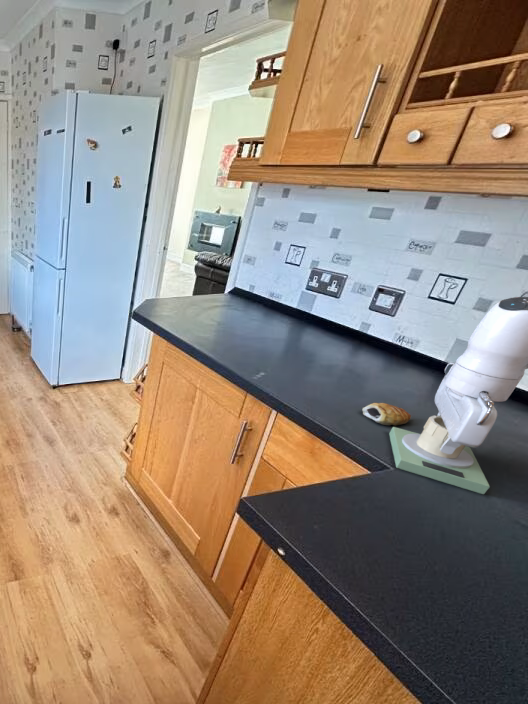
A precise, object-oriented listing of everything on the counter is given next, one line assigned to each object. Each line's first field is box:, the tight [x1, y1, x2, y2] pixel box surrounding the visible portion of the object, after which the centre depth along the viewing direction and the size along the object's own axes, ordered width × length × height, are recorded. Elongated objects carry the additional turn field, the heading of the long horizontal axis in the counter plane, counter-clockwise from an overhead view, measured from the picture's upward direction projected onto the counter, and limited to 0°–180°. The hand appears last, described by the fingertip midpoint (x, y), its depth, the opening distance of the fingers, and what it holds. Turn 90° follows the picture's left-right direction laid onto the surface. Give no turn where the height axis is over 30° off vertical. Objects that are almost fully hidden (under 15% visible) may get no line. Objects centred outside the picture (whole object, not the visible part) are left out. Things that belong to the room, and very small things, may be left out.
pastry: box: [361, 402, 412, 426], centre depth 100 cm, size 9×7×4 cm
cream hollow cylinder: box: [416, 415, 465, 459], centre depth 84 cm, size 7×7×6 cm
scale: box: [388, 426, 491, 495], centre depth 86 cm, size 13×15×3 cm
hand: (440, 441), depth 85 cm, fingers closed on cream hollow cylinder, 7 cm apart
